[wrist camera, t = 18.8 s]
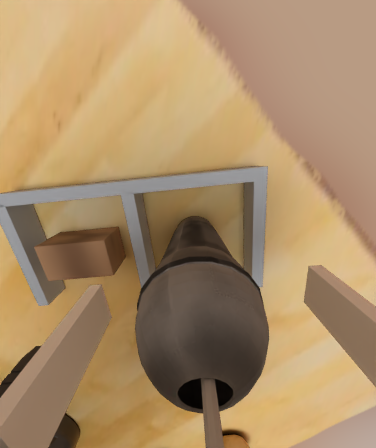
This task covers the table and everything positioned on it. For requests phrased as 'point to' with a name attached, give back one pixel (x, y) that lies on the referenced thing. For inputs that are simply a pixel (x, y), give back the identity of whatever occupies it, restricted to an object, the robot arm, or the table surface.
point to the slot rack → (129, 219)
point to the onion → (234, 442)
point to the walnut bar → (81, 254)
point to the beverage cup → (201, 326)
